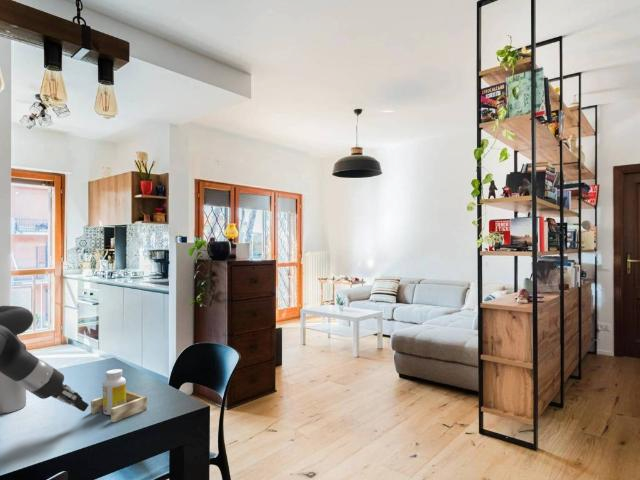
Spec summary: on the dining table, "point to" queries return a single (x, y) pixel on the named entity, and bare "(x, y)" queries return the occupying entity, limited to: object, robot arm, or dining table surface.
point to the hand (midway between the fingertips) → (85, 407)
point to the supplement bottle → (113, 390)
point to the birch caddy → (122, 406)
